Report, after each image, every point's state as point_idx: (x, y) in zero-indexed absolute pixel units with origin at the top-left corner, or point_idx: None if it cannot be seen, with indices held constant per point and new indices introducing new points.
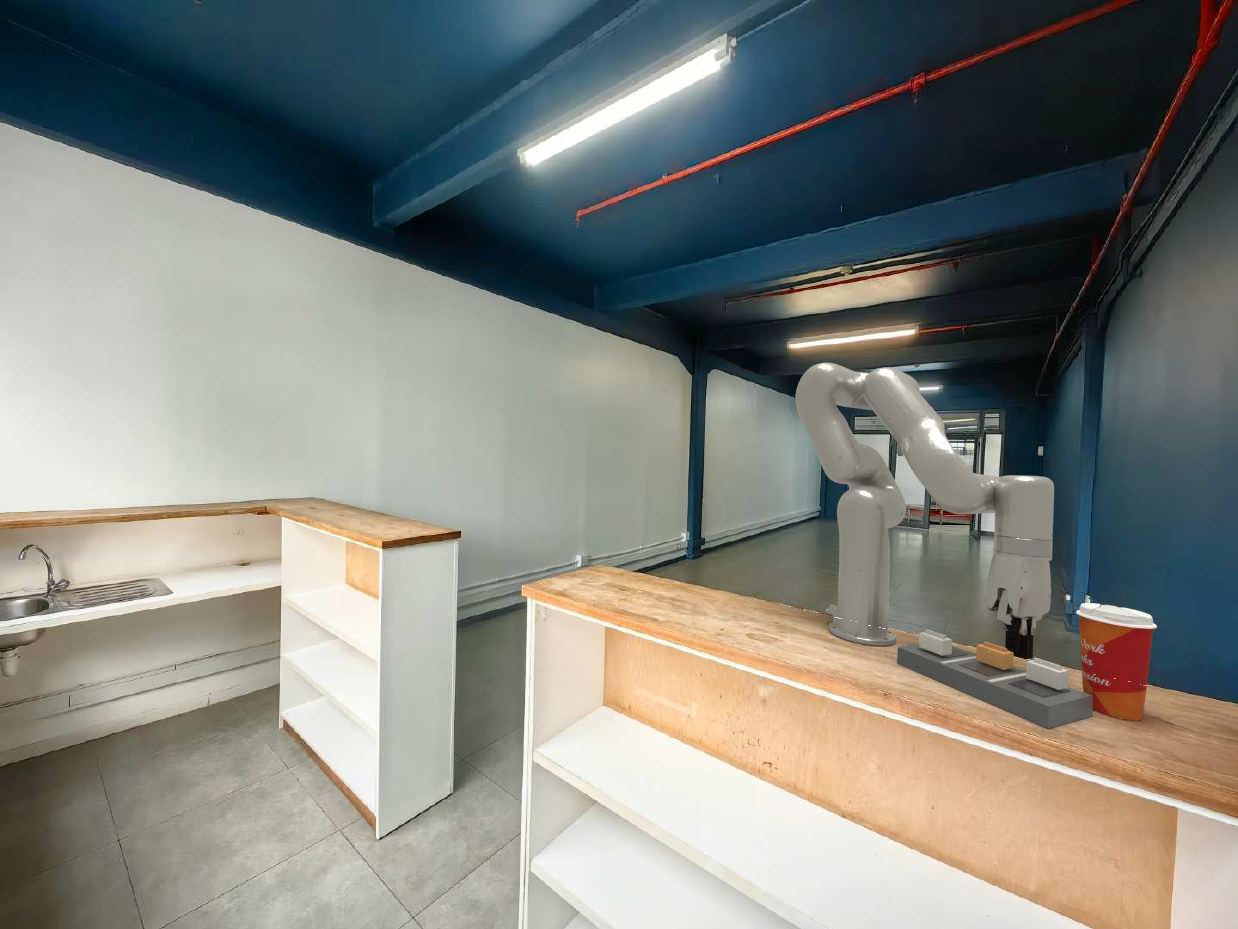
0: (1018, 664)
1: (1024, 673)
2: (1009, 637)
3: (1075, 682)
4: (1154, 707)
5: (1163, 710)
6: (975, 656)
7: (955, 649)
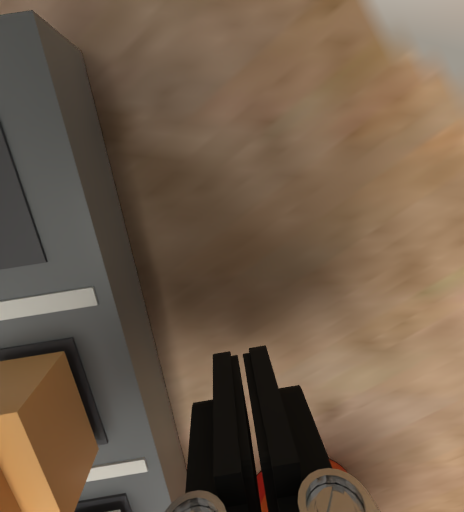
0: (429, 196)
1: (123, 466)
2: (189, 471)
3: (439, 357)
4: (448, 490)
5: (447, 502)
6: (58, 297)
7: (19, 190)
